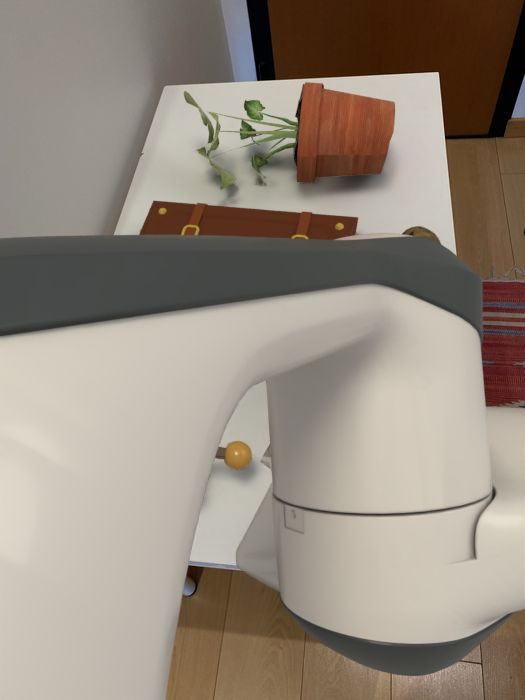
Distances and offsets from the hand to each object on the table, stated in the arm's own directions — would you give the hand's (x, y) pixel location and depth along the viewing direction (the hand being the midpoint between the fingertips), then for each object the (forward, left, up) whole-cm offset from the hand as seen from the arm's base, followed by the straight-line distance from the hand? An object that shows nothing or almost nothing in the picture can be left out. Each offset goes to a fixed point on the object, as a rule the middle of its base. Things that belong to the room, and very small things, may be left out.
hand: (272, 451), depth 46 cm
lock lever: (+2, +11, -9) cm, 14 cm away
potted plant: (+52, +3, -15) cm, 55 cm away
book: (+29, +8, -15) cm, 34 cm away
